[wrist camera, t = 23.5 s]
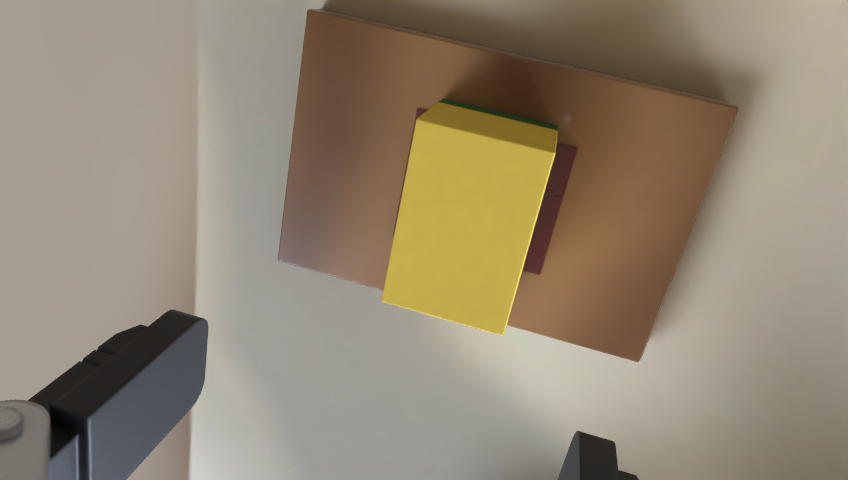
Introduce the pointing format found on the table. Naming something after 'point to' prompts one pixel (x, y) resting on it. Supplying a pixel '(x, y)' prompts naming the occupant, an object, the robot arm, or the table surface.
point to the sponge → (468, 213)
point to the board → (565, 191)
